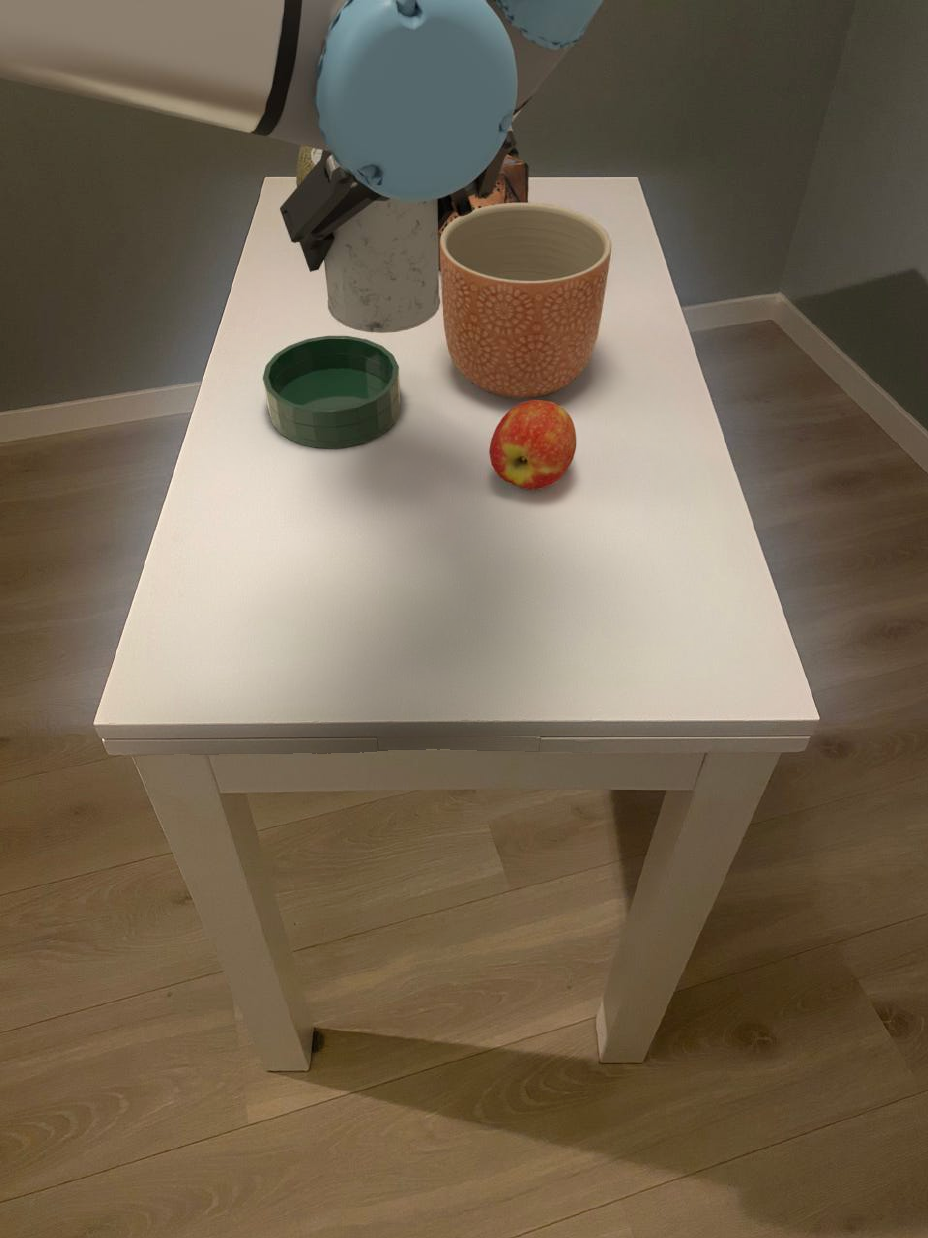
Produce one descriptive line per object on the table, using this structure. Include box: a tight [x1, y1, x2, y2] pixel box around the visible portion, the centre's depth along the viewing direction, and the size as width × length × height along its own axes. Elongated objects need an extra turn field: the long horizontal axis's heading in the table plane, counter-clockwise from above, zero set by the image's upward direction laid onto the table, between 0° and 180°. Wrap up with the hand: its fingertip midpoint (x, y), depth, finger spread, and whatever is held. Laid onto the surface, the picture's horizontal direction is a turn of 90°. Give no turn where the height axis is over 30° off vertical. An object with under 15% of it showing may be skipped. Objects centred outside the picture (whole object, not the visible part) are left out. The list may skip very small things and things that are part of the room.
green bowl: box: [262, 335, 401, 449], centre depth 98 cm, size 14×14×4 cm
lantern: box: [438, 146, 530, 270], centre depth 118 cm, size 16×16×25 cm
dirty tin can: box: [311, 148, 441, 334], centre depth 75 cm, size 10×10×12 cm
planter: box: [440, 202, 612, 399], centre depth 98 cm, size 17×17×15 cm
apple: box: [489, 399, 577, 490], centre depth 89 cm, size 8×8×8 cm
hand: (365, 240), depth 78 cm, fingers closed on dirty tin can, 9 cm apart
